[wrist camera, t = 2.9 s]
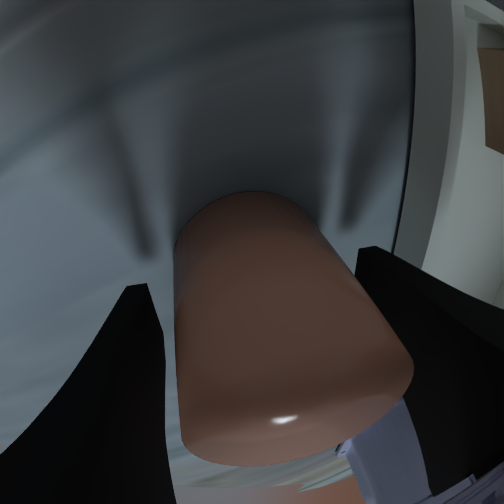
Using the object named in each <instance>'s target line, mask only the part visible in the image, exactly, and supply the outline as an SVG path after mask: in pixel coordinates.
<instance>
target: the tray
mask: <svg viewBox="0 0 504 504" xmlns="http://www.w3.org/2000/svg"><path fill="white" fill-rule="evenodd" d="M414 14H415V36H416V83H415V105H414V120H413V133H412V143H411V152H410V161H409V169H408V177H407V184H406V190H405V197H404V203H403V209H402V214H401V220H400V225H399V230H398V235H397V240H396V245H395V250H394V255H395V256H397V257H399V258H401V259H403V260H405V261H406V262H408V263H410V264H412V265H414V266H415V267H417V268H419V269H421V270H423V271H424V272H426V273H428V274H430V275H432V276H434V277H435V278H437V279H439V280H441V281H443V282H445V283H446V284H448V285H450V286H452V287H454V288H456V289H458V290H460V291H462V292H464V293H466V294H468V295H470V296H473V297H475V298H477V299H479V300H482V301H484V302H486V303H489V304H491V305H493V306H496V307H499V308H501V309H504V155H503V154H501V153H499V152H497V151H495V150H493V149H491V148H488V147H486V146H485V117H484V101H483V89H482V80H481V72H480V64H479V58H478V52H477V48H504V12H503V11H502V10H500V9H499V8H497V7H495V6H494V5H492V4H491V3H489V2H487V1H485V0H414Z"/></svg>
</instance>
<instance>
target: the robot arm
mask: <svg viewBox="0 0 504 504" xmlns="http://www.w3.org/2000/svg"><path fill="white" fill-rule="evenodd" d="M354 276H355V277H356V279H357V280H358V281H359V283H360V284H361V285H362V287H363V288H364V290H365V291H366V292H367V294H368V295H369V297H370V298H371V299H372V301H373V302H374V304H375V305H376V306H377V308H378V309H379V311H380V312H381V313H382V315H383V316H384V318H385V319H386V321H387V322H388V323H389V325H390V326H391V328H392V329H393V331H394V332H395V334H396V335H397V337H398V338H399V340H400V341H401V342H402V344H403V345H404V347H405V348H406V350H407V351H408V353H409V354H410V356H411V358H412V360H413V364H414V372H413V377H412V380H411V382H410V384H409V386H408V388H407V390H406V391H405V393H404V394H403V396H402V397H401V398H400V400H399V401H398V402H397V403H396V404H395V405H394V406H393V407H392V408H391V409H390V410H389V411H388V412H387V413H386V414H385V415H384V416H383V417H382V418H380V419H379V420H378V421H377V422H375V423H374V424H373V425H371V426H370V427H368V428H367V429H365V430H364V431H362V432H361V433H359V434H357V435H356V436H354V437H352V438H350V439H348V440H346V441H345V442H343V443H341V445H340V447H339V448H338V450H337V452H336V454H335V455H336V457H342V456H345V455H346V456H347V459H348V461H349V464H350V466H351V469H352V471H353V474H354V476H355V479H356V481H357V484H358V486H359V489H360V491H361V493H362V496H363V498H364V500H365V502H366V503H367V504H504V309H501V308H499V307H496V306H493V305H491V304H489V303H486V302H484V301H482V300H479V299H477V298H475V297H473V296H470V295H468V294H466V293H464V292H462V291H460V290H458V289H456V288H454V287H452V286H450V285H448V284H446V283H445V282H443V281H441V280H439V279H437V278H435V277H434V276H432V275H430V274H428V273H426V272H424V271H423V270H421V269H419V268H417V267H415V266H414V265H412V264H410V263H408V262H406V261H405V260H403V259H401V258H399V257H397V256H395V255H394V254H392V253H390V252H388V251H386V250H384V249H381V248H379V247H377V246H371V247H366V248H360V249H359V250H358V257H357V263H356V269H355V275H354ZM165 372H166V360H165V348H164V336H163V331H162V328H161V325H160V322H159V319H158V316H157V313H156V310H155V307H154V304H153V301H152V298H151V295H150V292H149V289H148V286H147V283H144V284H137V285H131V286H127V287H126V288H125V289H124V291H123V292H122V294H121V296H120V297H119V299H118V301H117V302H116V304H115V306H114V307H113V309H112V311H111V312H110V314H109V316H108V317H107V319H106V321H105V322H104V324H103V326H102V327H101V329H100V331H99V332H98V334H97V335H96V337H95V339H94V340H93V342H92V344H91V345H90V347H89V348H88V350H87V351H86V353H85V354H84V356H83V357H82V359H81V360H80V362H79V363H78V365H77V367H76V368H75V369H74V371H73V372H72V374H71V375H70V377H69V378H68V379H67V381H66V382H65V383H64V385H63V386H62V387H61V389H60V390H59V391H58V392H57V394H56V395H55V396H54V398H53V399H52V400H51V401H50V402H49V404H48V405H47V406H46V407H45V408H44V409H43V410H42V412H41V413H40V414H39V415H38V416H37V417H36V419H35V420H34V421H33V422H32V423H31V424H30V426H29V427H28V428H27V429H26V430H25V431H24V432H23V433H22V434H21V435H20V436H19V437H18V438H17V439H16V440H15V441H14V442H13V443H12V444H11V445H10V446H9V447H8V448H7V449H6V450H5V451H4V452H3V453H1V454H0V504H176V499H175V495H174V490H173V484H172V479H171V473H170V468H169V461H168V454H167V447H166V437H165ZM472 474H473V475H472ZM470 475H471V476H470ZM469 476H470V477H469Z"/></svg>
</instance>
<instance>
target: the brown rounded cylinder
mask: <svg viewBox="0 0 504 504" xmlns="http://www.w3.org/2000/svg"><path fill="white" fill-rule="evenodd" d="M173 286H174V334H175V358H176V376H177V391H178V404H179V416H180V427H181V437H182V441H183V444H184V446H185V447H186V448H187V449H188V450H189V451H190V452H191V453H193V454H194V455H195V456H197V457H199V458H201V459H204V460H207V461H210V462H213V463H218V464H223V465H230V466H262V465H271V464H278V463H283V462H288V461H292V460H297V459H300V458H304V457H307V456H310V455H313V454H316V453H319V452H322V451H324V450H327V449H329V448H332V447H334V446H336V445H338V444H341V443H343V442H345V441H346V440H348V439H350V438H352V437H354V436H356V435H357V434H359V433H361V432H362V431H364V430H365V429H367V428H368V427H370V426H371V425H373V424H374V423H375V422H377V421H378V420H379V419H380V418H382V417H383V416H384V415H385V414H386V413H387V412H388V411H389V410H390V409H391V408H392V407H393V406H394V405H395V404H396V403H397V402H398V401H399V400H400V398H401V397H402V396H403V394H404V393H405V391H406V390H407V388H408V386H409V384H410V382H411V380H412V377H413V372H414V364H413V360H412V358H411V356H410V354H409V353H408V351H407V350H406V348H405V347H404V345H403V344H402V342H401V341H400V340H399V338H398V337H397V335H396V334H395V332H394V331H393V329H392V328H391V326H390V325H389V323H388V322H387V321H386V319H385V318H384V316H383V315H382V313H381V312H380V311H379V309H378V308H377V306H376V305H375V304H374V302H373V301H372V299H371V298H370V297H369V295H368V294H367V292H366V291H365V290H364V288H363V287H362V285H361V284H360V283H359V281H358V280H357V279H356V277H355V276H354V275H353V273H352V272H351V271H350V269H349V268H348V267H347V265H346V264H345V263H344V261H343V260H342V259H341V257H340V256H339V255H338V253H337V252H336V251H335V249H334V248H333V247H332V245H331V244H330V243H329V242H328V240H327V239H326V238H325V236H324V235H323V234H322V233H321V231H320V230H319V229H318V227H317V226H316V225H315V224H314V222H313V221H312V220H311V219H310V217H309V216H308V215H307V214H306V213H305V212H304V211H303V210H302V209H301V208H300V207H299V206H298V205H296V204H295V203H294V202H292V201H290V200H288V199H286V198H284V197H281V196H279V195H276V194H271V193H266V192H243V193H238V194H233V195H230V196H227V197H223V198H221V199H219V200H217V201H215V202H212V203H211V204H209V205H208V206H206V207H205V208H203V209H202V210H201V211H199V212H198V213H197V214H196V215H195V216H194V217H193V218H192V219H191V220H190V221H189V222H188V223H187V225H186V226H185V228H184V229H183V230H182V232H181V234H180V236H179V238H178V241H177V244H176V247H175V251H174V263H173Z"/></svg>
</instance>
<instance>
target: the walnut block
mask: <svg viewBox="0 0 504 504" xmlns="http://www.w3.org/2000/svg"><path fill="white" fill-rule="evenodd" d="M477 52H478V58H479V64H480V72H481V80H482V89H483V101H484V117H485V146H486V147H488V148H491V149H493V150H495V151H497V152H499V153H501V154H503V155H504V48H477Z"/></svg>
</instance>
